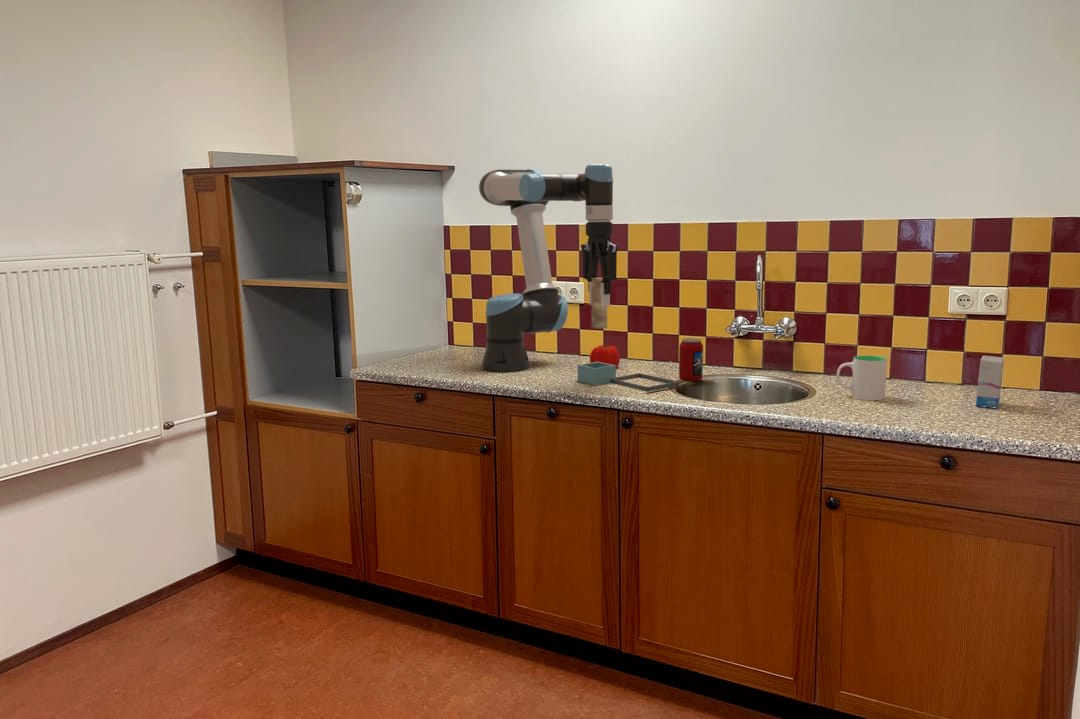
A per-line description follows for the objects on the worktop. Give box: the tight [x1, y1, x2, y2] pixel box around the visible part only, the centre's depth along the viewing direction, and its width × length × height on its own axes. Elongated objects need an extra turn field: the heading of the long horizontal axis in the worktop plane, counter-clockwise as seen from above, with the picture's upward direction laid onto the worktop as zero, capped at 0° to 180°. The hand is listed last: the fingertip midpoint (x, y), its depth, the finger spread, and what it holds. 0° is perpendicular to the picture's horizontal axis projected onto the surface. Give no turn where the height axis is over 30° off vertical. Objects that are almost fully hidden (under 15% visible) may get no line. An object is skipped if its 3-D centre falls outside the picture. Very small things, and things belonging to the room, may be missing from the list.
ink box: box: [975, 355, 1005, 409], centre depth 199 cm, size 9×5×12 cm, turn 148°
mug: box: [836, 355, 888, 401], centre depth 210 cm, size 12×8×10 cm, turn 69°
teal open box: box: [576, 362, 617, 386], centre depth 231 cm, size 8×8×6 cm
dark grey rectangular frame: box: [611, 372, 680, 395], centre depth 227 cm, size 16×12×2 cm
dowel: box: [591, 276, 608, 329], centre depth 227 cm, size 4×4×14 cm
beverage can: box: [678, 338, 704, 383], centre depth 233 cm, size 7×7×12 cm
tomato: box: [589, 344, 621, 369], centre depth 252 cm, size 9×9×8 cm
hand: (599, 305), depth 227 cm, fingers closed on dowel, 4 cm apart
